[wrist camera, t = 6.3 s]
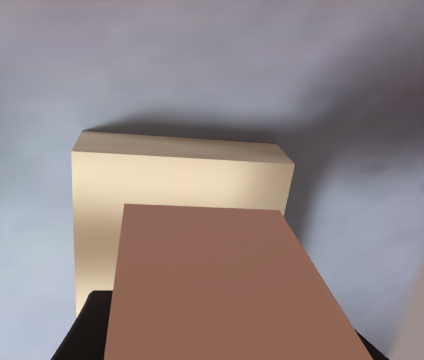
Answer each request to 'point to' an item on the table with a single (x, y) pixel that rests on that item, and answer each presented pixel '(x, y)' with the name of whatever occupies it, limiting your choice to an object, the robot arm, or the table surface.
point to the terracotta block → (220, 290)
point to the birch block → (161, 188)
